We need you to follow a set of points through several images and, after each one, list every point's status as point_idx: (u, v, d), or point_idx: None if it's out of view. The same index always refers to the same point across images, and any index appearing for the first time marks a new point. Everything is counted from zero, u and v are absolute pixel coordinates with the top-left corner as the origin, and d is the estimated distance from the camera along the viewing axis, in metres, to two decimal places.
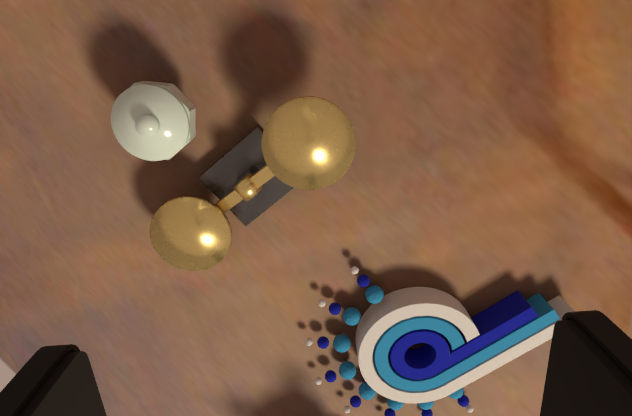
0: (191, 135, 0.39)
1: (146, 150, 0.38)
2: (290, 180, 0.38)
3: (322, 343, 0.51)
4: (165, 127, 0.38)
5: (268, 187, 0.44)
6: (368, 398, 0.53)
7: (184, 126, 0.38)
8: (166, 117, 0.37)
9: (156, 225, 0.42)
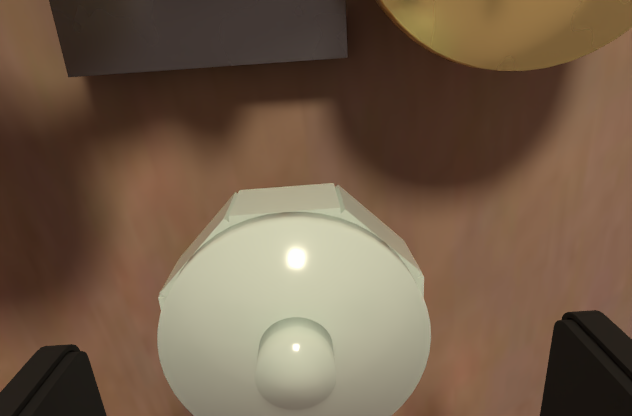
0: (219, 219, 0.11)
1: (374, 291, 0.10)
2: None
3: None
4: (255, 312, 0.10)
5: None
6: None
7: (192, 280, 0.10)
8: (229, 335, 0.10)
9: (609, 12, 0.09)
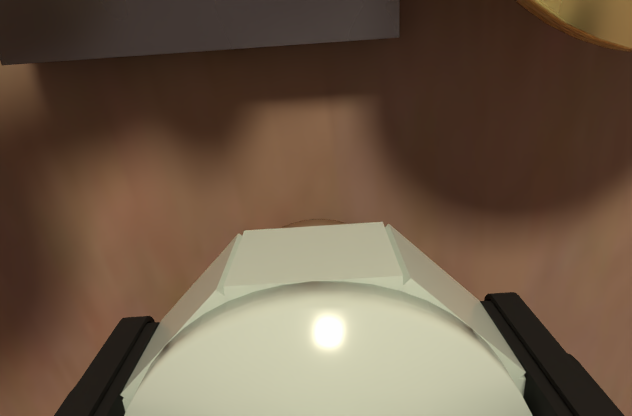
0: (211, 284, 0.07)
1: (456, 412, 0.06)
2: None
3: None
4: None
5: None
6: None
7: (163, 392, 0.06)
8: None
9: None
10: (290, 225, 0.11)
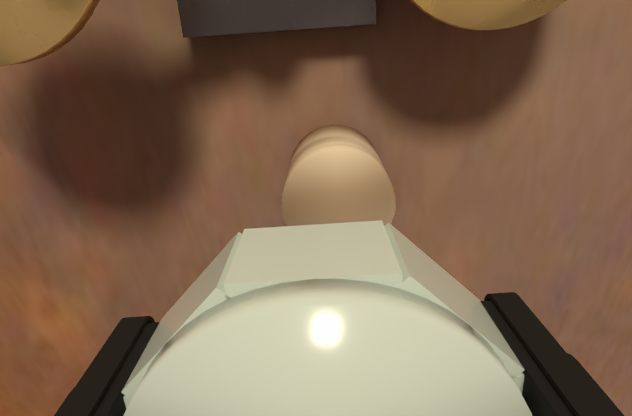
0: (212, 282, 0.07)
1: (455, 409, 0.06)
2: None
3: None
4: None
5: None
6: None
7: (164, 389, 0.06)
8: None
9: None
10: (319, 128, 0.21)
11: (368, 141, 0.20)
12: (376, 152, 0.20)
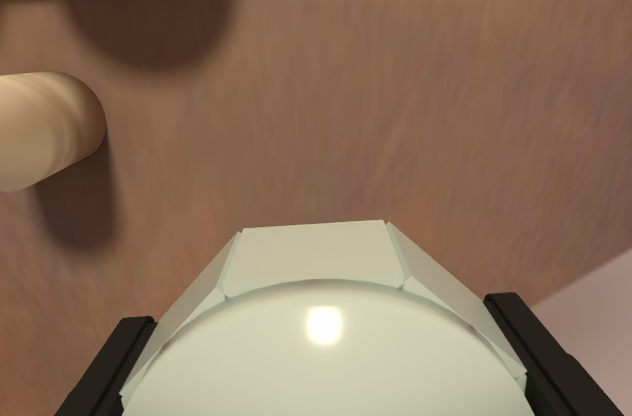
0: (211, 282, 0.07)
1: (457, 410, 0.06)
2: None
3: None
4: None
5: None
6: None
7: (162, 390, 0.06)
8: None
9: None
10: None
11: (78, 85, 0.20)
12: (85, 96, 0.20)
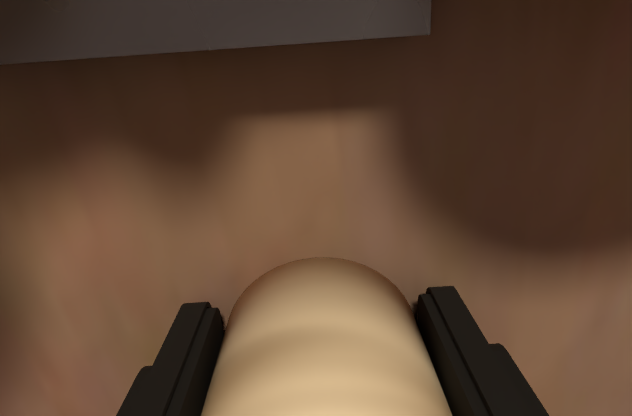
0: None
1: None
2: None
3: None
4: None
5: None
6: None
7: None
8: None
9: None
10: (287, 265, 0.09)
11: (398, 300, 0.09)
12: (417, 327, 0.09)
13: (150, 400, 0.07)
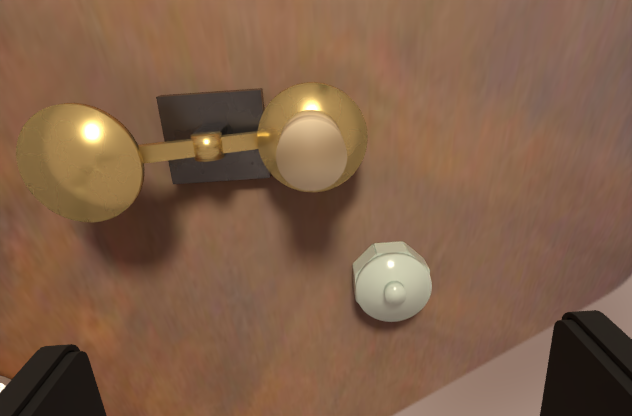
0: (372, 253, 0.38)
1: (416, 274, 0.37)
2: (124, 142, 0.28)
3: None
4: (383, 279, 0.37)
5: (202, 116, 0.33)
6: None
7: (368, 270, 0.37)
8: (376, 285, 0.37)
9: None
10: (300, 112, 0.31)
11: (332, 120, 0.30)
12: (338, 127, 0.30)
13: None
